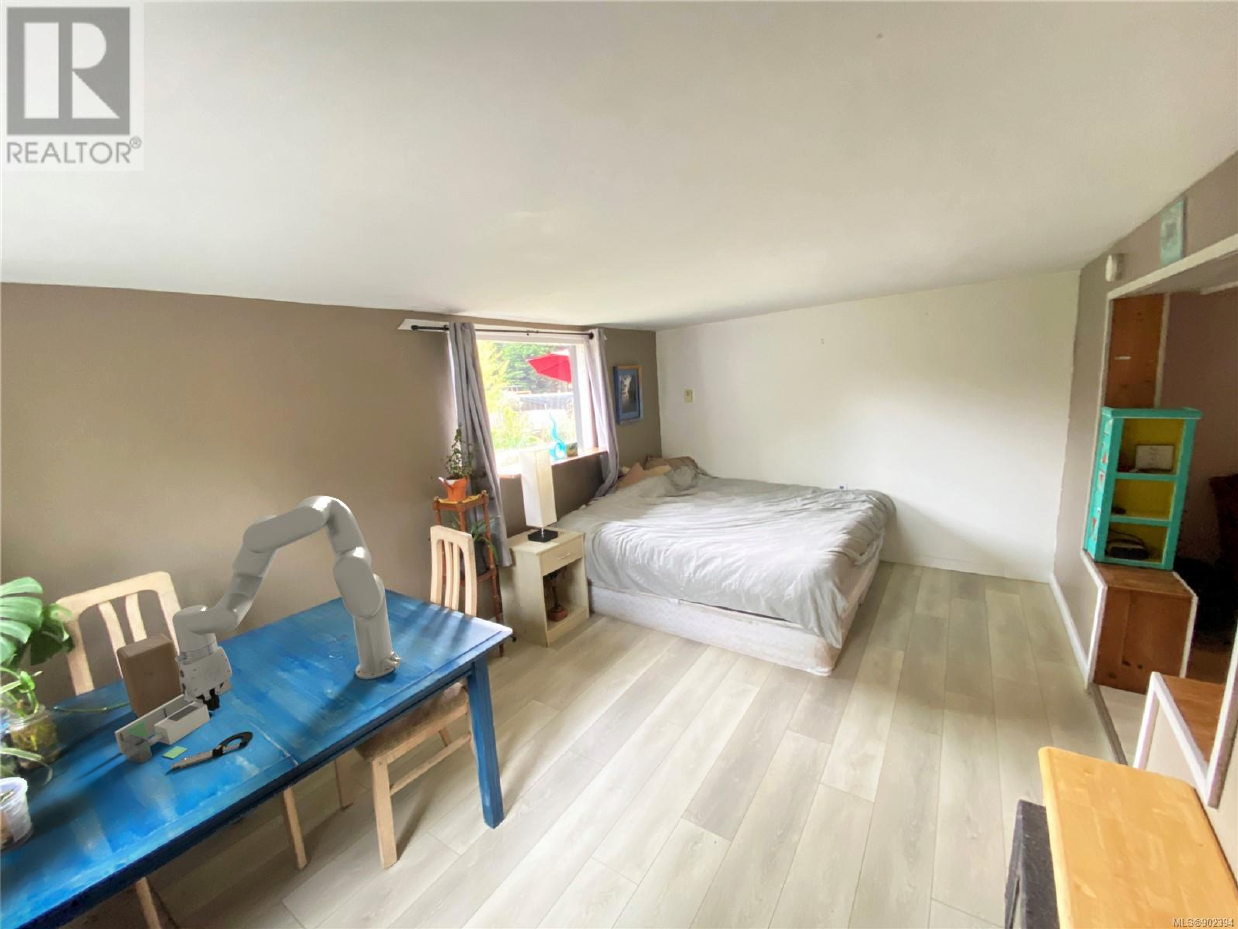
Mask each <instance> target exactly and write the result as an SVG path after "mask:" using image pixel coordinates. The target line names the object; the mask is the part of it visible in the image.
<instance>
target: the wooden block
mask: <svg viewBox="0 0 1238 929" xmlns="http://www.w3.org/2000/svg"><path fill="white" fill-rule="evenodd" d="M115 653H116V656H117V661H118V665H119V667H120V668H119V669H120V672H121V675H122V679H123V683H124V686H125V690H126V693H127V698H128V701H129V705H130V709H131V711H132V712H133V713H134V714H135V716H136V717H137V719H139V718H141V717H142V716H144V715H146V714H148V713H149V712H151V711H153V710H155V709H157V708H158V707H160V706H162V705H164V704H166V703H167V702H169V701H171V700H173V699H175V698H176V697H178V696H180V695H182V691H181V687H180V681H179V663H180V662H176V661H175V658H176V657H178V654H177V650H176V648H175V643H174V641H173V640H172V639H170V638H169V637H168V636H167V635H166V634H164V633H162V632H161V633H157V634H155V635H151V636H149V637H146V638H143V639H140V640H138V641H135V642H134V641H133V642H132V643H129V644H126V645H123V646H121V647H119V648H117V649H116V651H115Z"/></svg>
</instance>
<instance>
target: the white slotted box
mask: <svg viewBox="0 0 1238 929" xmlns="http://www.w3.org/2000/svg"><path fill="white" fill-rule="evenodd" d="M209 721H211V718H210V714H209V710H208V709H207V705H205V704H201V703H198V702H193V703H191V704H190V705H188V706H186V707H184V708H183V709H181V710H179V711H177V712H176V713H174V714H172V715H170V716H169V717H167V718H165V719H163V720H162V721H160V722H158V723H157V724H155V725H154V728H155V732H156V734H155V735H153V736H152V737H150V739H149V738H148V739H147V740H148V742H149V746H150V747H152V746H153V745H155V744H156V743H158V742H159V743H161V744H162V743H163V744H166V745H169V746H172V745H173V744H174V743H176V742H178V741H179V740H181V739H183V738H184V737H186V736H187V735H189V734H190V733H192V732H194V731H195V730H197V729H198V728H200V727H201V726H204V725H205V724H207V723H208V722H209Z"/></svg>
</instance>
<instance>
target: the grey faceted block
mask: <svg viewBox="0 0 1238 929" xmlns="http://www.w3.org/2000/svg"><path fill="white" fill-rule="evenodd" d="M122 740H123V741H122V745H123V748H124V754H125V758H126V760H127V761H128V760H129V761H130V762H131V761H132V762H135V763H137V764H141V765H142V764H145V763H146V762H148V761H149V760H151V759H152V758H153V754H152V751H151V750H152V749H151V746H149V742H148V740H149V739H144V738H141V737H138V736H134V735H129V736H128V737H126V738H124V739H122Z"/></svg>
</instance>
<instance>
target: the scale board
mask: <svg viewBox="0 0 1238 929" xmlns="http://www.w3.org/2000/svg"><path fill="white" fill-rule="evenodd" d="M232 687H233V686H232V683H231V678H230V679H229V680H228V681H226V682H225V683H223V685H222V687H221V689H220V693H219V694H218V695H219V696H221V695H223V694H224V693H226V692H228V691H229V690H232ZM208 692H209V691H208ZM184 698H185V695H183V694H182V695H180V696H178V697H176V698H175V699H173V700H171V701H169V702H167V703H166V704H164V705H162V706H160V707H158V708H157V709H155V710H153V711H151V712H149V713H148V714H146V715H144V716H142V717H141V718H137V719H136V720H134V721H131V722H130V723H128V724H126V725H125V726H123V727H121V728H119V729H118V730H115V731H114V736H115V739H116V743H117V745H118V746H117V747H118V748H119V753H120V754H125V752H124V748H123V745H122V741H123V740H122V739H124V738H126V737H128V736H129V735H134V736H138V737H141V738H144V739H146V740H148V739H149V738H152V737H153V736H155V735H156V732H155V728H154V725H155V724H157V723H158V722H160V721H162V720H163V719H165V718H167V717H169V716H170V715H172V714H174V713H176V712H177V711H179V710H181V709H183V708H184V707H186V706H188V705H190V704H191V703H193V702H198V703H201V704H203V701H202V699H196V700H194V701H191V702H185V701H184Z"/></svg>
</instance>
